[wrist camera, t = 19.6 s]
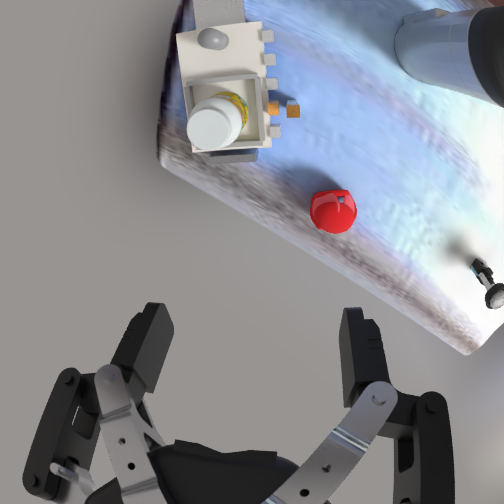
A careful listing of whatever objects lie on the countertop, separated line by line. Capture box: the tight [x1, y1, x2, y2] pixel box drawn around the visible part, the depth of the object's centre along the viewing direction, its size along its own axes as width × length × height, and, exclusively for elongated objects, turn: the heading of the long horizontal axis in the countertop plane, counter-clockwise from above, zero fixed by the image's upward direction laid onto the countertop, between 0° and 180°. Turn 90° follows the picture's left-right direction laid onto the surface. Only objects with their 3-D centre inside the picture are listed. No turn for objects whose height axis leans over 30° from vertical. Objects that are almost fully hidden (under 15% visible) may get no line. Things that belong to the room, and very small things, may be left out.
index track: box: [193, 0, 300, 164], centre depth 28 cm, size 24×12×6 cm, turn 5°
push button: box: [471, 259, 504, 309], centre depth 40 cm, size 7×5×10 cm
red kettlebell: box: [310, 190, 357, 234], centre depth 39 cm, size 8×6×6 cm
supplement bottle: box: [187, 91, 249, 150], centre depth 28 cm, size 5×5×10 cm
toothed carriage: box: [176, 21, 281, 153], centre depth 28 cm, size 16×11×6 cm
